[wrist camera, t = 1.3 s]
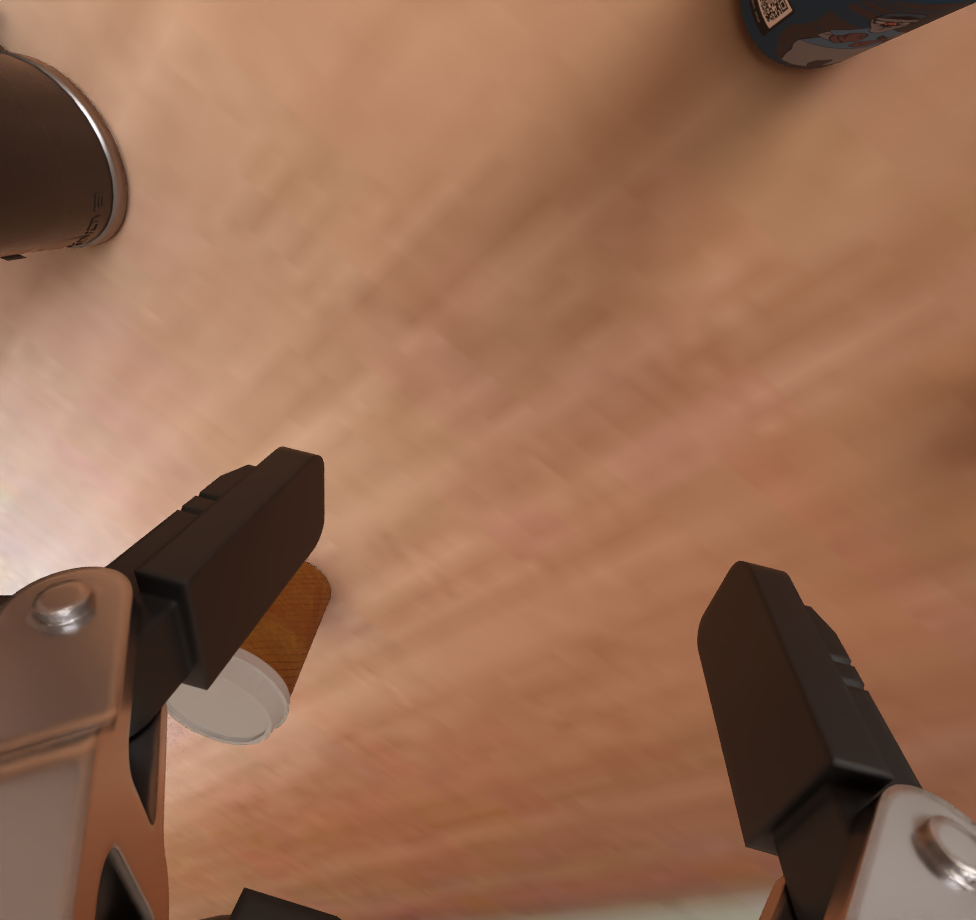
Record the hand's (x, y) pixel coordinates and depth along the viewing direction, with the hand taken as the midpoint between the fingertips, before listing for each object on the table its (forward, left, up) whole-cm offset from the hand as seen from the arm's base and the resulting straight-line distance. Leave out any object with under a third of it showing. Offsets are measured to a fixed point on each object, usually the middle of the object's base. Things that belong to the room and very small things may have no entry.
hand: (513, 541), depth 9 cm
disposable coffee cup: (+5, -33, -22) cm, 40 cm away
